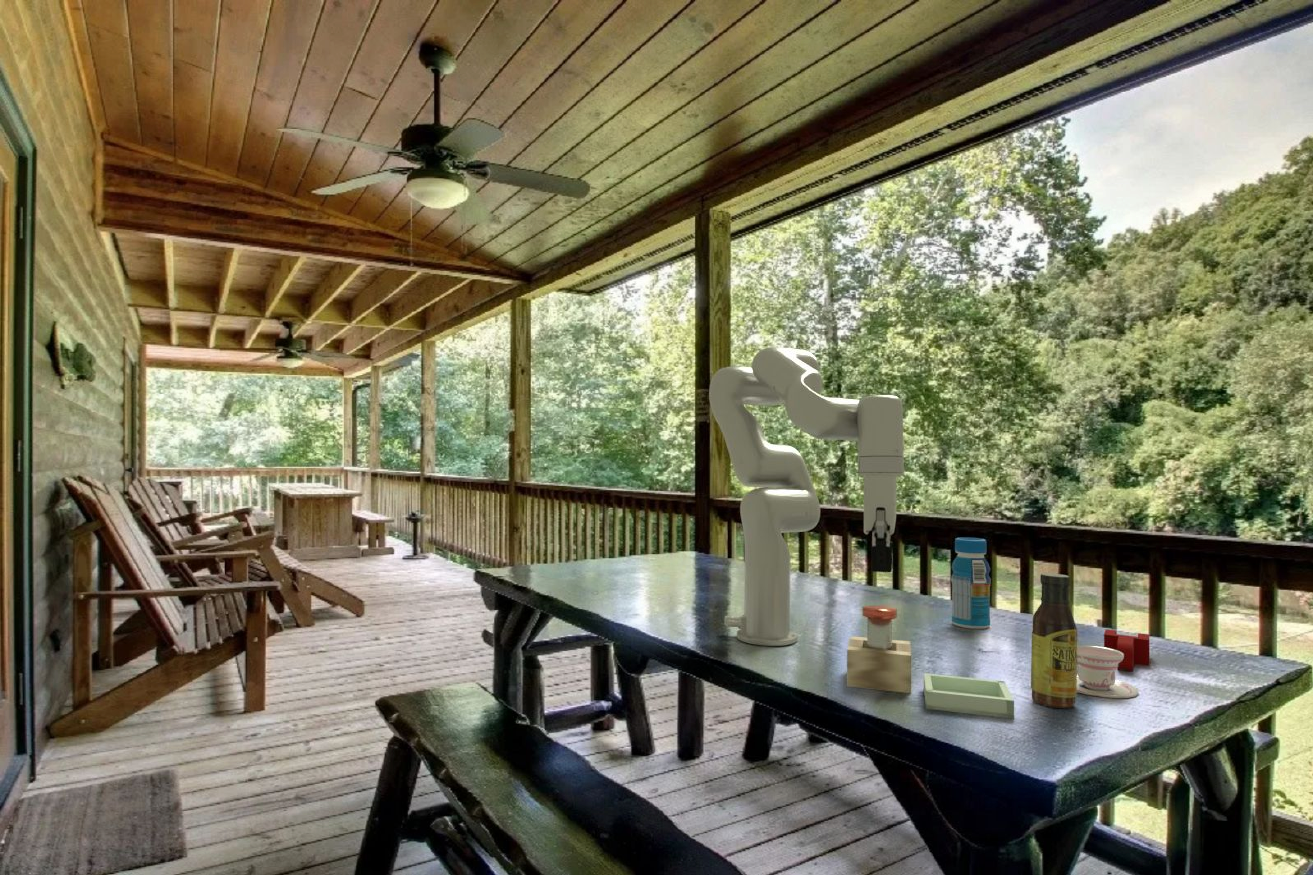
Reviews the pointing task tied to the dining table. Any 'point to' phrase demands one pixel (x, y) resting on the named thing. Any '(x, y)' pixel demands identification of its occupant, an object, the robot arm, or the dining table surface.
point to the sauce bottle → (1054, 646)
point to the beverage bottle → (970, 584)
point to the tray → (968, 695)
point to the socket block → (879, 666)
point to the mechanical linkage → (1129, 648)
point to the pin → (879, 626)
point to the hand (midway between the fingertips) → (882, 568)
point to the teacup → (1101, 672)
